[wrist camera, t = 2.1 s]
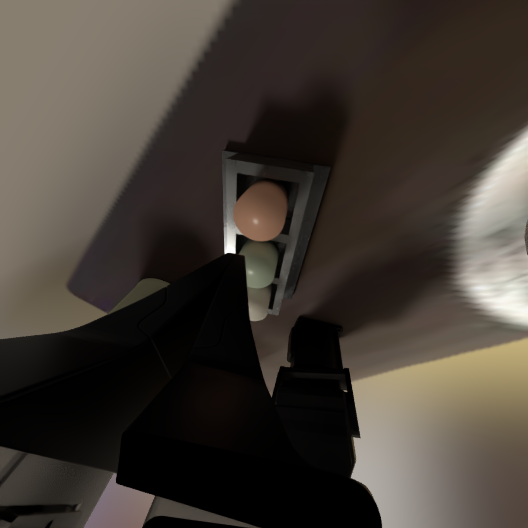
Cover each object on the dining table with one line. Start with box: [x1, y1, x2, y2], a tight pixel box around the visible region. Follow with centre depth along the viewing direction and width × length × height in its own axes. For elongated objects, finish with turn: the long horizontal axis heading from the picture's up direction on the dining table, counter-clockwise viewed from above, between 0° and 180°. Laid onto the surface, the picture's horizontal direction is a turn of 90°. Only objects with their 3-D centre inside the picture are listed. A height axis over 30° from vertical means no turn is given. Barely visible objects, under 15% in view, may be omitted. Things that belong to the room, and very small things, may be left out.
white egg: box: [247, 284, 272, 321], centre depth 20 cm, size 4×4×4 cm
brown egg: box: [233, 178, 289, 241], centre depth 14 cm, size 4×4×4 cm
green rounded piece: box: [239, 238, 279, 288], centre depth 17 cm, size 4×4×4 cm
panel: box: [222, 150, 331, 315], centre depth 19 cm, size 9×16×4 cm, turn 173°
